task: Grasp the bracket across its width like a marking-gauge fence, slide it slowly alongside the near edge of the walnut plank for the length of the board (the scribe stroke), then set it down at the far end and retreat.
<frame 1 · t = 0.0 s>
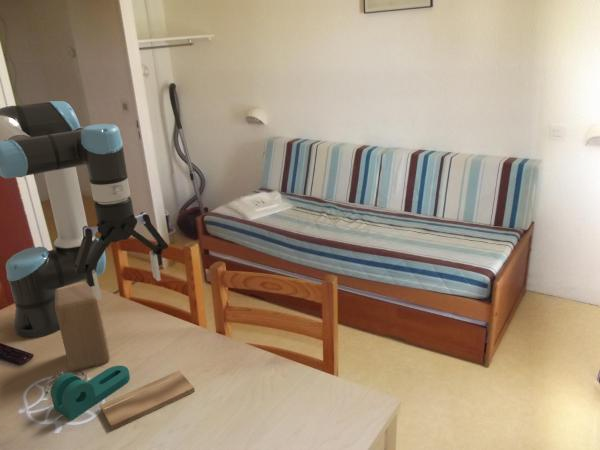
hand: (128, 287, 117), 28 cm above the table, fingers open, 13 cm apart
block: (89, 358, 140), on the table
bracket: (97, 394, 126), on the table
plank: (148, 400, 123), on the table
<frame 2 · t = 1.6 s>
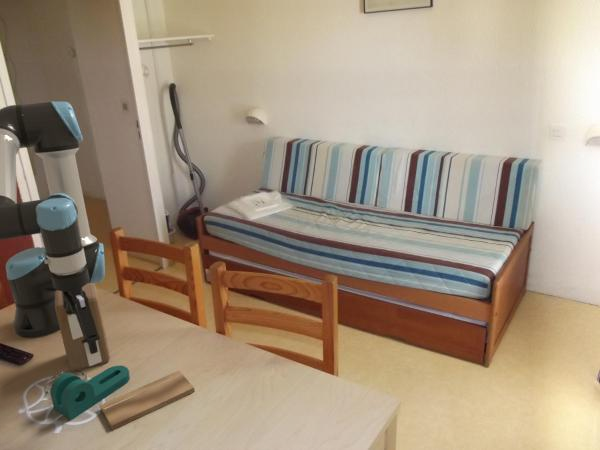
hand: (86, 349, 121), 13 cm above the table, fingers open, 13 cm apart
nothing on the table moved.
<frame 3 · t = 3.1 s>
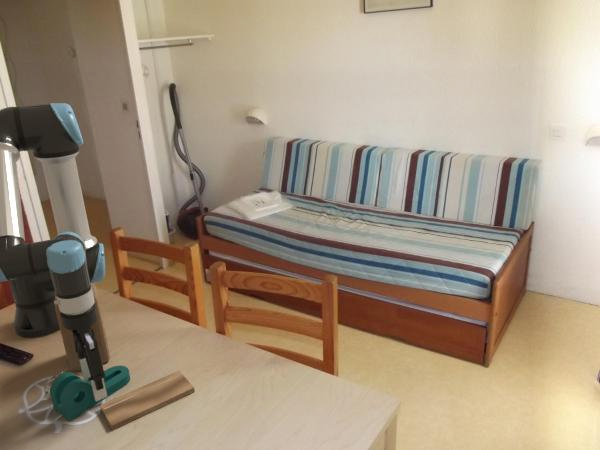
hand: (95, 389, 125), 1 cm above the table, fingers closed on bracket, 8 cm apart
bracket: (96, 394, 126), on the table, touching gripper
everything else where it was.
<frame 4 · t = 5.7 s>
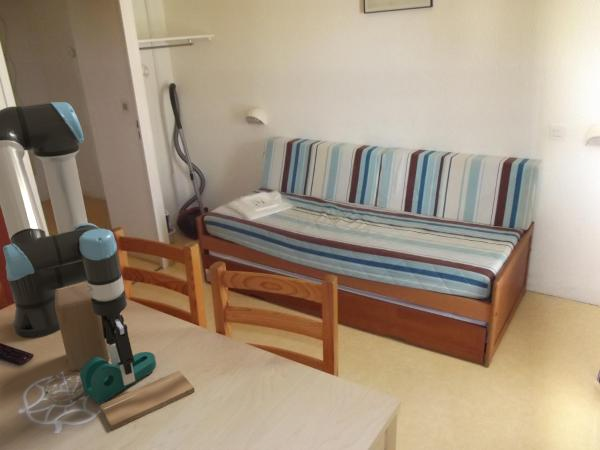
hand: (123, 373, 129), 2 cm above the table, fingers closed on bracket, 8 cm apart
bracket: (124, 379, 130), point 1 cm above the table, touching gripper
everything else where it was.
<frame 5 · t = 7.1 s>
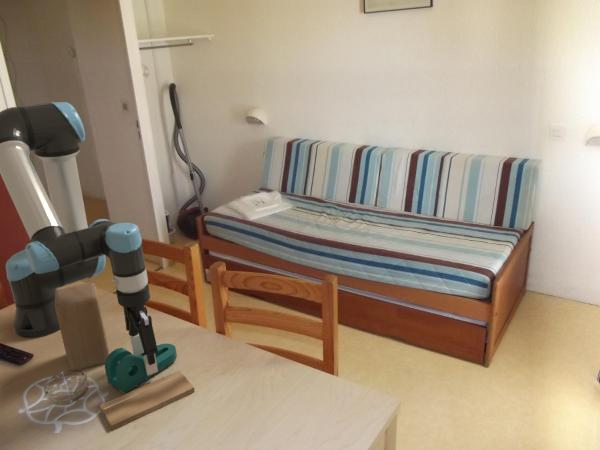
hand: (145, 364, 132), 2 cm above the table, fingers closed on bracket, 8 cm apart
bracket: (146, 369, 133), point 1 cm above the table, touching gripper
everything else where it was.
when the fingers open (1 cm above the table, at t = 8.2 s): bracket stays where it is, on the table.
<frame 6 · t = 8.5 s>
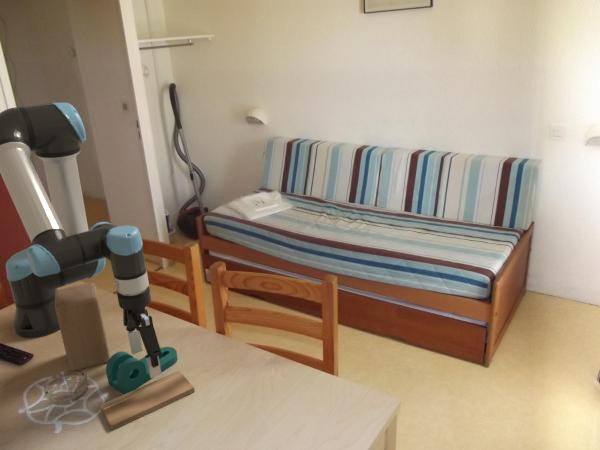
hand: (146, 363, 132), 3 cm above the table, fingers open, 12 cm apart
bracket: (147, 373, 133), on the table
everything else where it was.
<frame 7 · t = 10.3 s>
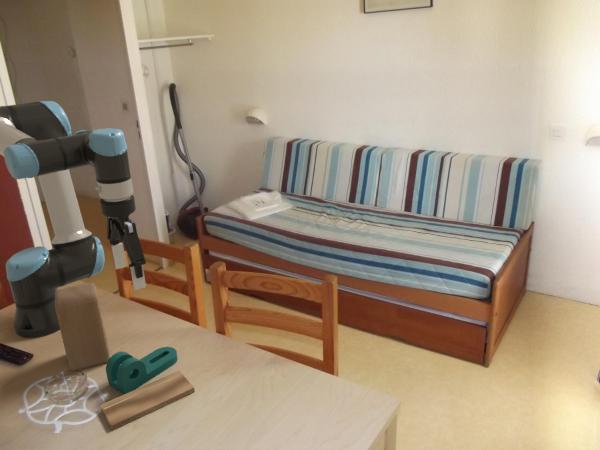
hand: (130, 277, 128), 25 cm above the table, fingers open, 13 cm apart
nothing on the table moved.
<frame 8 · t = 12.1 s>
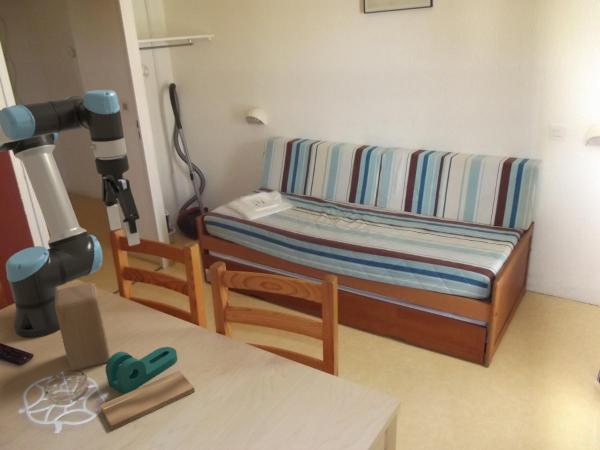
hand: (124, 236, 133), 33 cm above the table, fingers open, 13 cm apart
nothing on the table moved.
at the end: bracket inside the target area (0.7 cm from its centre), on the table; bracket moved 12.8 cm from its start; the gripper is holding nothing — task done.
